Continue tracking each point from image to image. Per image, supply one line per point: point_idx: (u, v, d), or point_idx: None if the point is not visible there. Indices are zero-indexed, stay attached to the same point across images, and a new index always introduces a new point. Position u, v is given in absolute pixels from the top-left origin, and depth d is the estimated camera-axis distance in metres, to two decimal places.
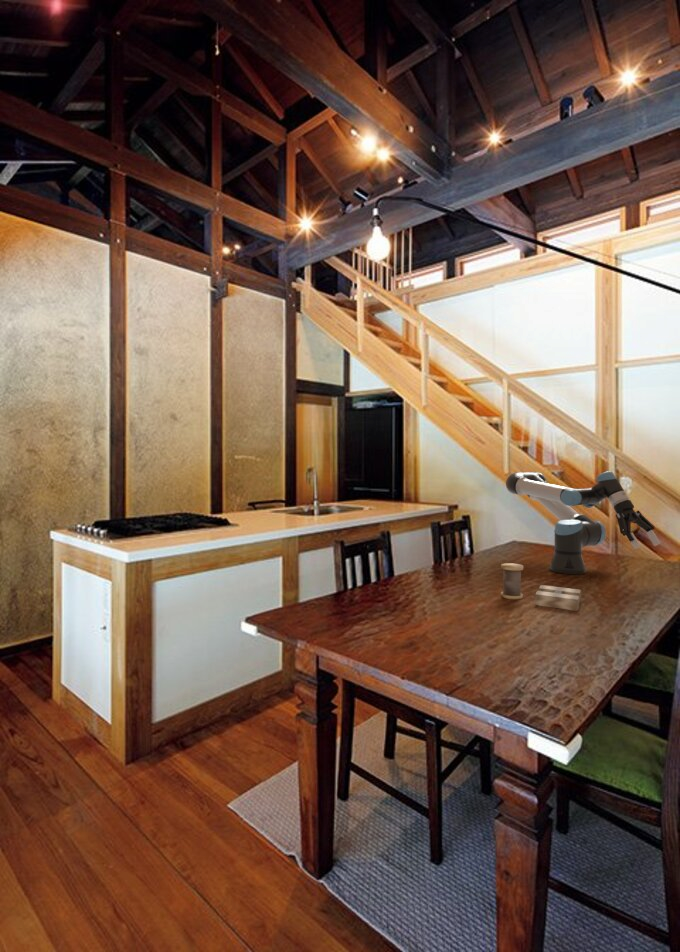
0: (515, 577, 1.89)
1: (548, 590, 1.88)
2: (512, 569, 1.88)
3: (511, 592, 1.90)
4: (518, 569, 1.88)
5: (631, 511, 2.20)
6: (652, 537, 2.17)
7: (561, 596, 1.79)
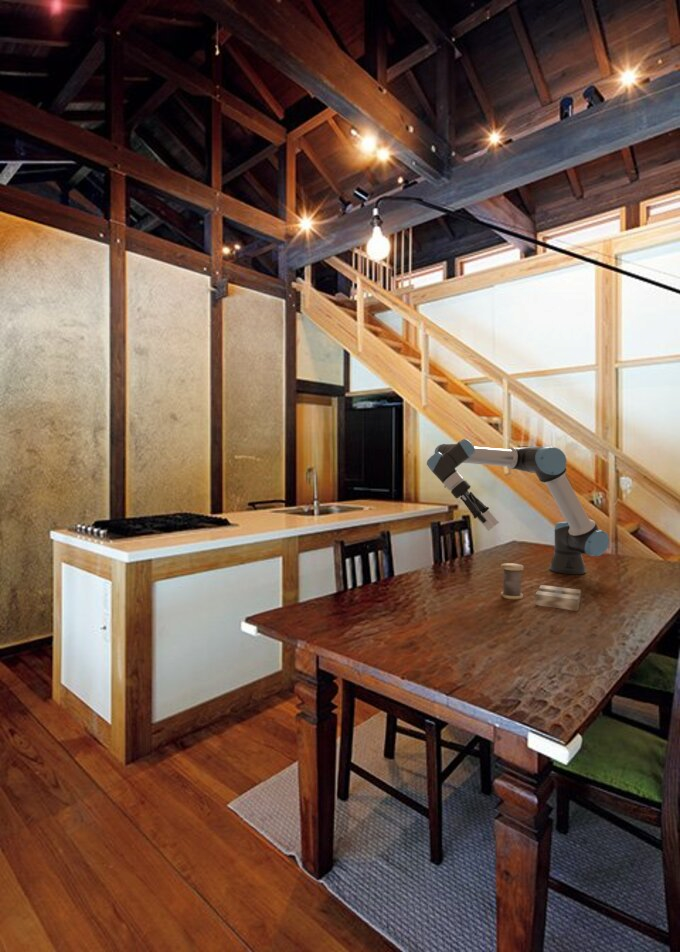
0: (515, 577, 1.89)
1: (548, 590, 1.88)
2: (512, 569, 1.88)
3: (511, 592, 1.90)
4: (518, 569, 1.88)
5: None
6: None
7: (561, 596, 1.79)
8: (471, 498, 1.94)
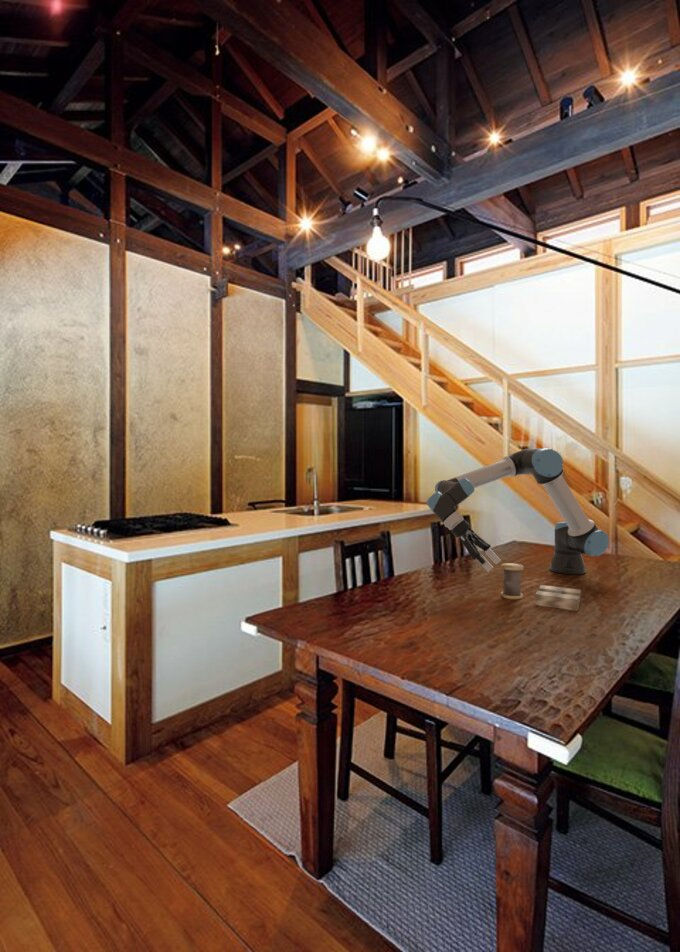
0: (515, 577, 1.89)
1: (548, 590, 1.88)
2: (512, 569, 1.88)
3: (511, 592, 1.90)
4: (518, 569, 1.88)
5: None
6: None
7: (561, 596, 1.79)
8: (470, 538, 1.96)
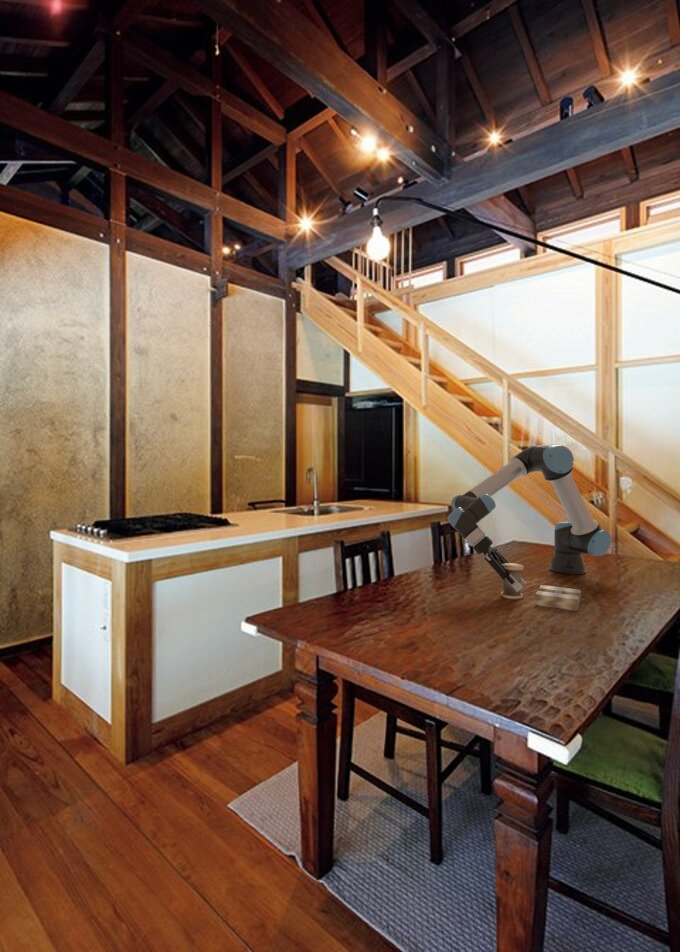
0: (515, 577, 1.89)
1: (548, 590, 1.88)
2: (512, 569, 1.88)
3: (511, 592, 1.90)
4: (518, 569, 1.88)
5: None
6: None
7: (561, 596, 1.79)
8: (495, 556, 1.93)
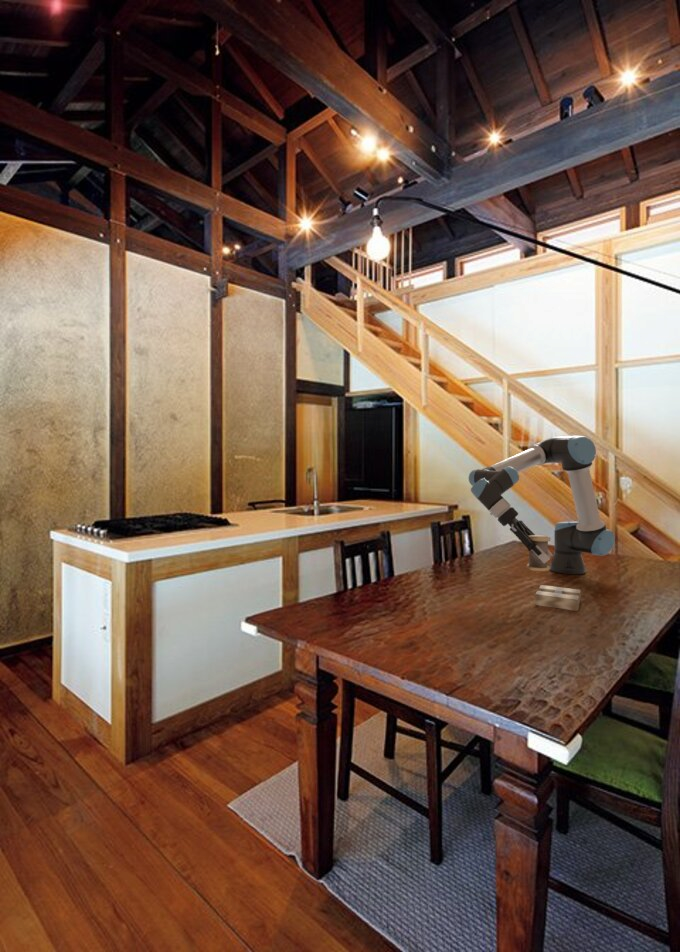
0: (542, 549, 1.83)
1: (548, 590, 1.88)
2: (539, 540, 1.82)
3: (537, 564, 1.84)
4: (545, 540, 1.82)
5: None
6: None
7: (561, 596, 1.79)
8: (521, 527, 1.87)
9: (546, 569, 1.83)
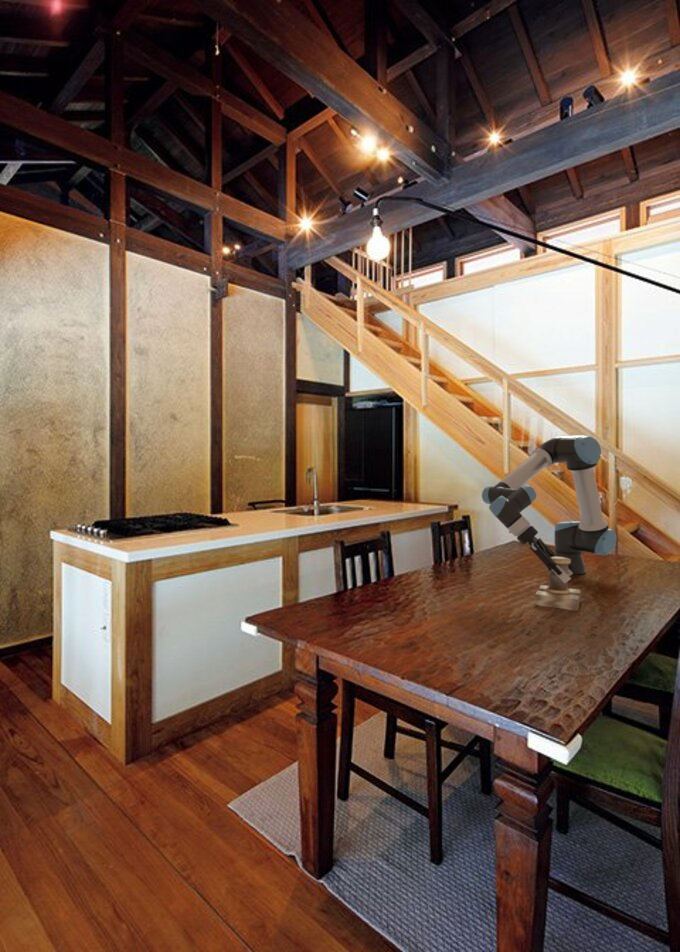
0: None
1: None
2: (559, 562, 1.80)
3: (558, 587, 1.81)
4: (566, 562, 1.80)
5: None
6: None
7: (561, 596, 1.79)
8: (541, 546, 1.84)
9: (567, 592, 1.81)
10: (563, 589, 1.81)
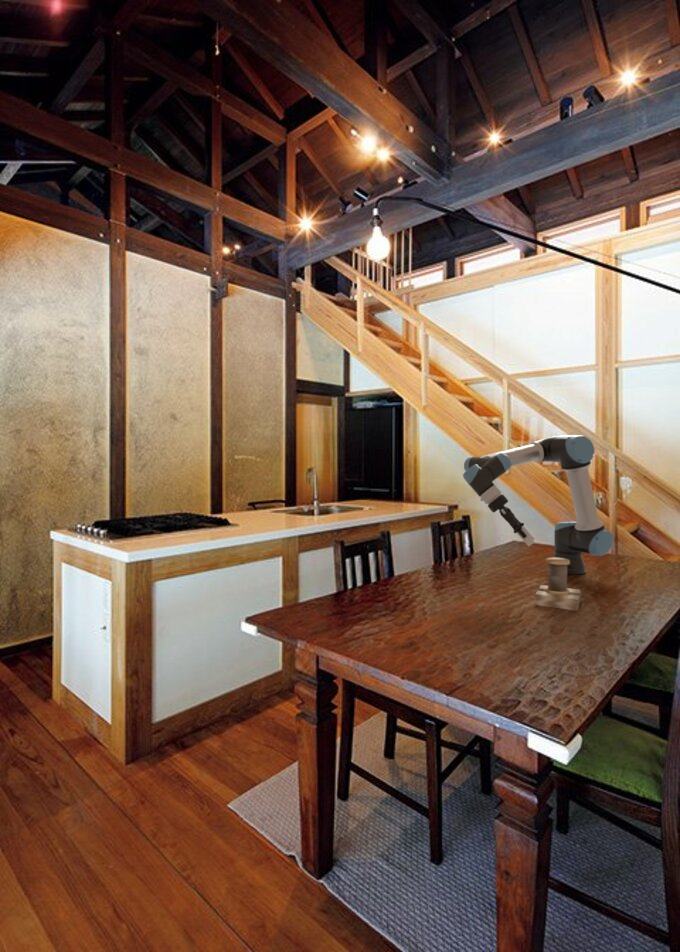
0: (562, 572, 1.81)
1: None
2: (559, 563, 1.80)
3: (557, 588, 1.81)
4: (565, 563, 1.80)
5: None
6: None
7: (561, 596, 1.79)
8: (510, 513, 1.90)
9: (566, 593, 1.81)
10: (562, 590, 1.81)
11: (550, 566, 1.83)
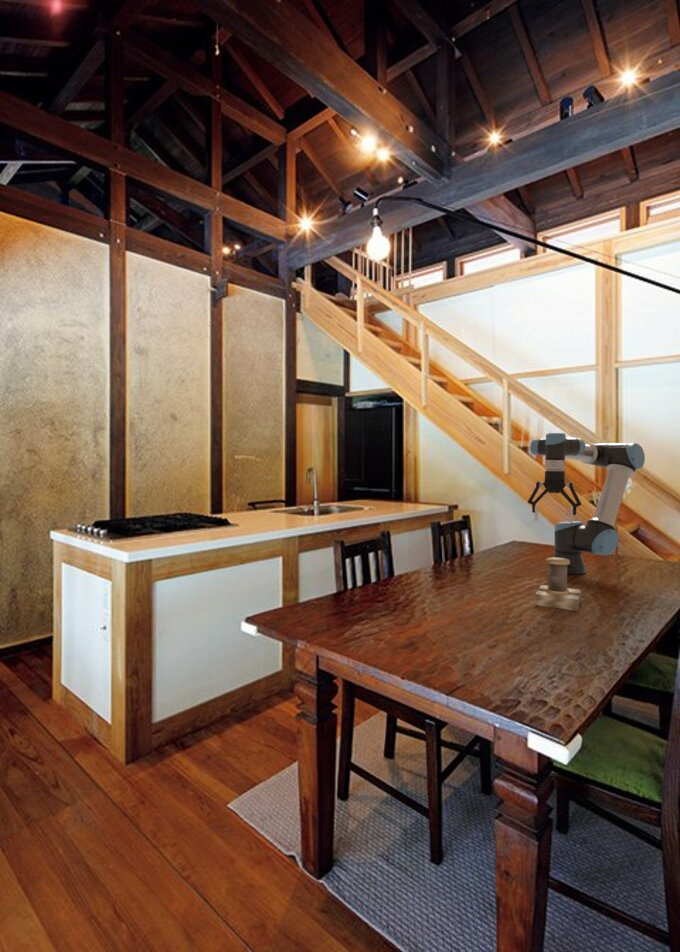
0: (562, 572, 1.81)
1: None
2: (559, 563, 1.80)
3: (557, 588, 1.81)
4: (565, 563, 1.80)
5: (558, 482, 2.03)
6: None
7: (561, 596, 1.79)
8: (562, 489, 2.05)
9: (566, 593, 1.81)
10: (562, 590, 1.81)
11: (550, 566, 1.83)
